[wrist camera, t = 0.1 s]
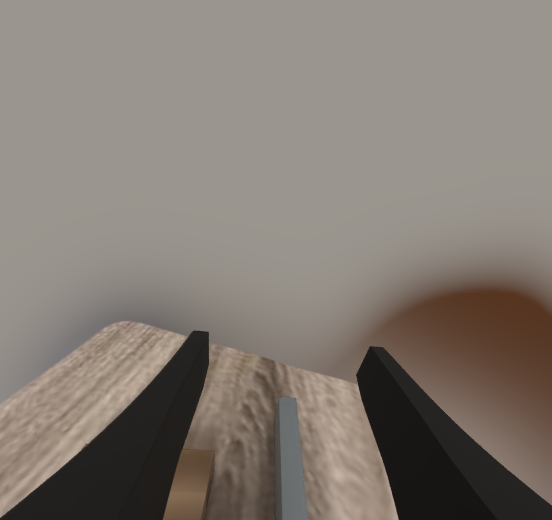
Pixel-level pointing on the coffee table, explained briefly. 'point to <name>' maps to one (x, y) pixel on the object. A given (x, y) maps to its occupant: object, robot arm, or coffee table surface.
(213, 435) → the coffee table surface
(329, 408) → the coffee table surface
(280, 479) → the wall
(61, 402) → the coffee table surface
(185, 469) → the brown square frame
